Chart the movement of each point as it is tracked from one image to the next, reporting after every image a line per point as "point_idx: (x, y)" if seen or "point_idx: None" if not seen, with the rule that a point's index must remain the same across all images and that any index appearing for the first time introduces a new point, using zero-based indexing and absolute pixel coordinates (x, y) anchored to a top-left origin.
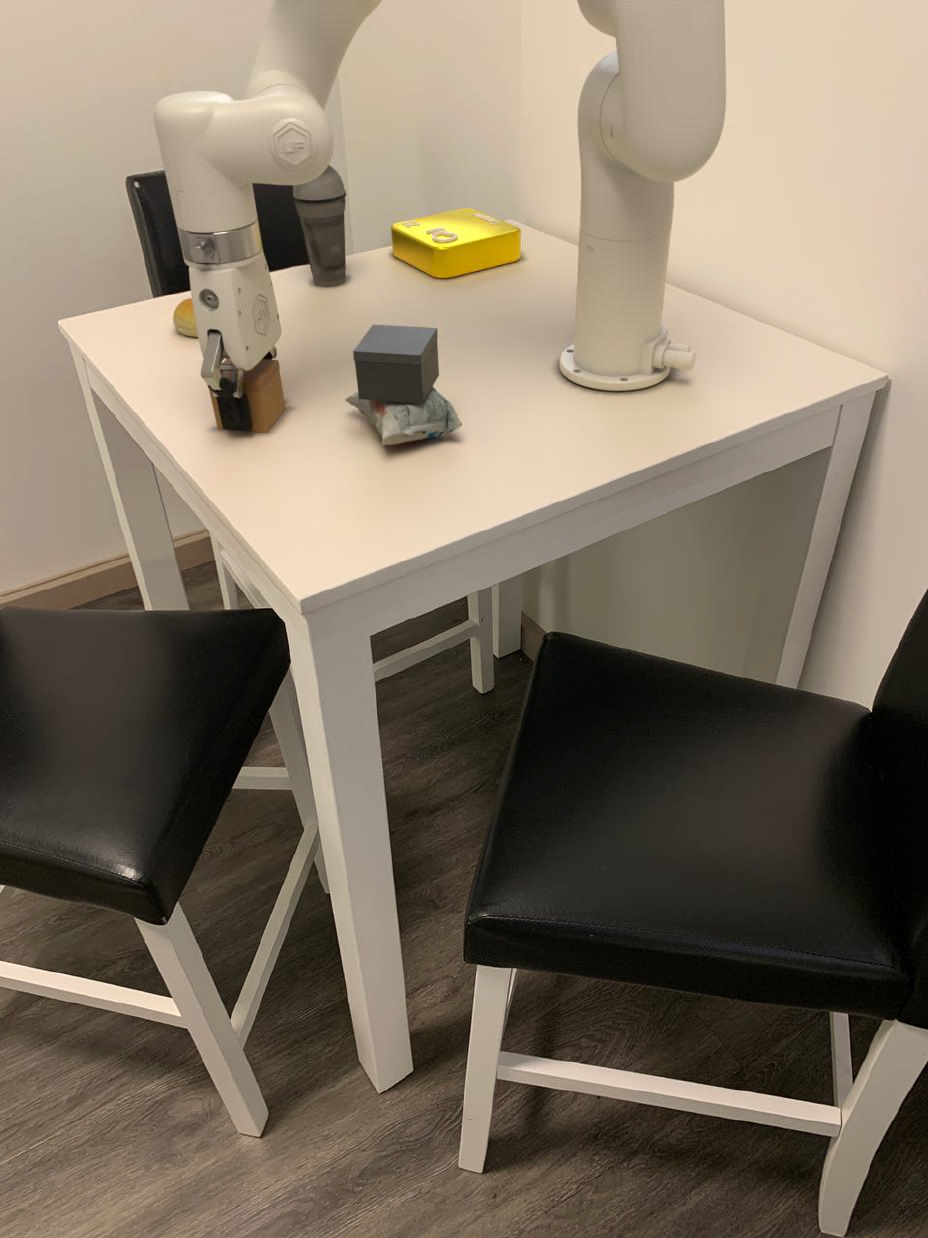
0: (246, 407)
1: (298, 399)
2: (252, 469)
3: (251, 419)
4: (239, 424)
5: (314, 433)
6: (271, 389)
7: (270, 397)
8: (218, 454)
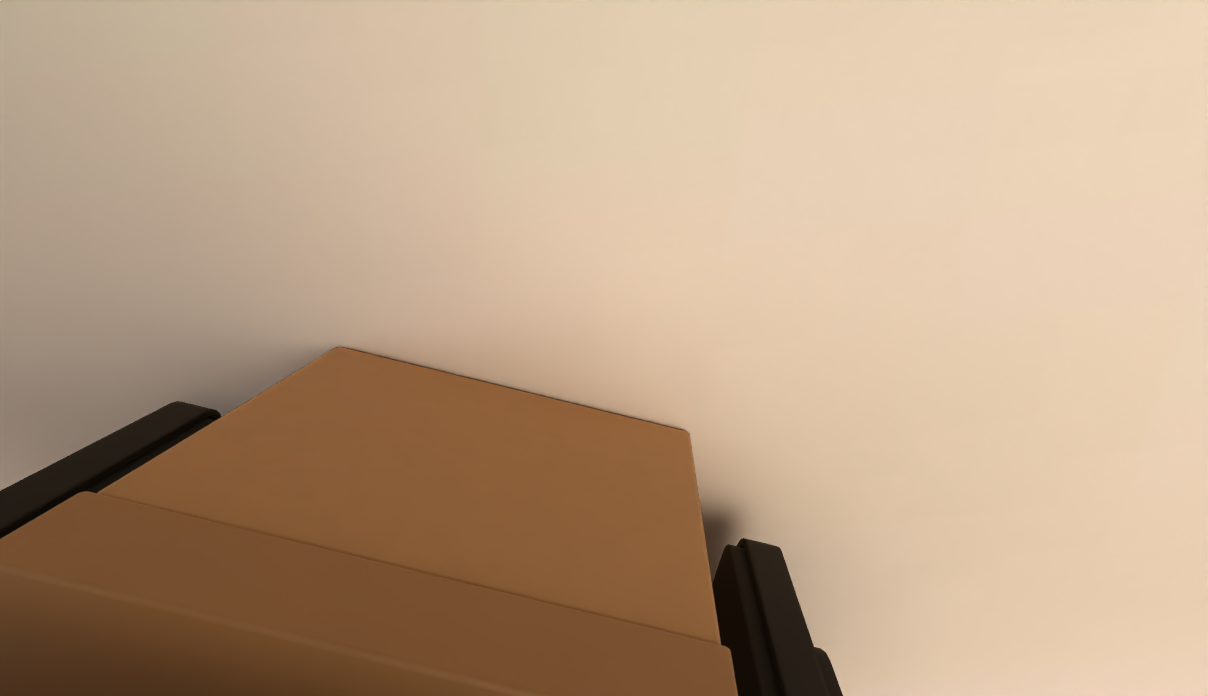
0: (821, 685)
1: (186, 271)
2: (1194, 466)
3: (759, 578)
4: (816, 648)
5: (739, 81)
6: (446, 507)
7: (511, 489)
8: (929, 672)
